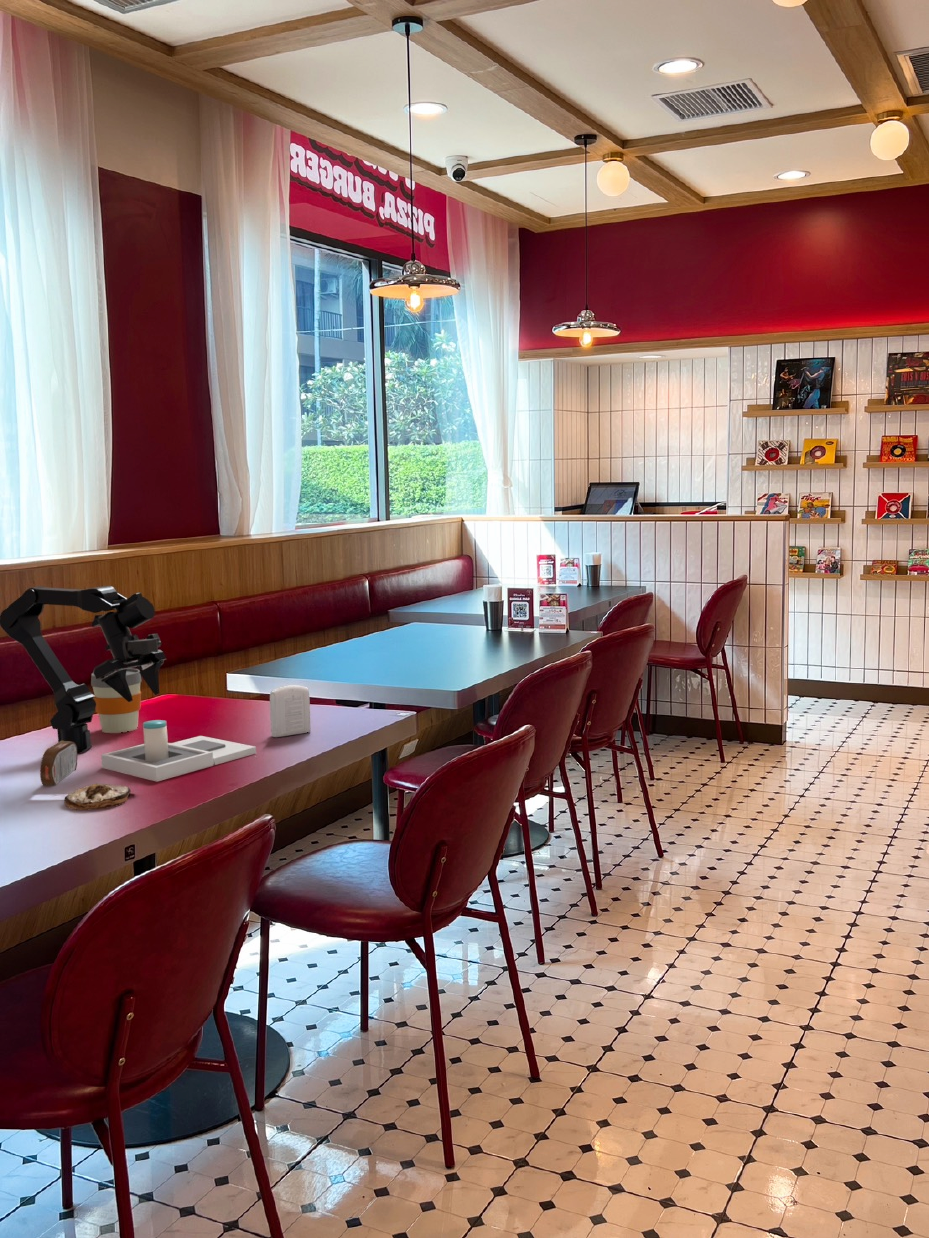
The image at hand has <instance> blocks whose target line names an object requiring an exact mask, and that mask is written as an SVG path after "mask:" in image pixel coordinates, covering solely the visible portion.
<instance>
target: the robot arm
mask: <svg viewBox="0 0 929 1238" xmlns="http://www.w3.org/2000/svg"><path fill="white" fill-rule="evenodd" d="M45 605H50V606H51V605H53V606H67V607H76V608H79V609H80V610H82V611H85V612H89V613H91V614H92V613H93V614H95V615H94V618H93V620H92V622H91V627H93V628H95V627H100V628H101V630H102V633H103V635H104V638H105V641H106V643H107V645H105V646H104V649H105V651H110V653H111V654H112V657H113V658H111V659H107V660H105V661H104V662H102V663H99V664H98V665H97V666H95V667H94V669H93V672H92V673H94V675H95V678H96V680H99V679H102V680H101V682H105V683H106V684H107V685H109V686H110V687H111V688H113V689H114V690H115V691H116V692H118V693H119V694H120V695H121V696H122V697H123V698H124V699H126V700H127V701H128V702H131V701H133V699H132V695H131V692H130V689H129V686H128V684H127V681H126V671H127V669H128V668H132V669H134V668H136V667H137V669H138V670H140V672H139V673H140V675H141V678H142V679H143V680H144V681H145V683H146V684H147V687H149V689H150V691H151V692H152V693H153V694H154V696H158V695H160V680H159V679H160V677H159V675H160V674H159V673H160V672H159V671H160V669H161V666H162V665H163V664H164V661H165V660H167V656H166V654H165V653H164V651H162V650H161V649H158V648H161V645H162V641H161V638H160V636H159V634H158V633H152V634H148V635H146V638H145V639H144V638H142V639H140V638H139V636H138V635H137V634H132V632H131V630H130V629H135V628H137V627H139V626H142V625H143V624H144V623H146V622H148V621H150V620H152V619H153V618H154V617H155V615H156V609H155V607H154V604H153V603H151V601H150V600H149V599H148V598H146V597H145V596H143V595H142V592H136V593H133V594H132V595H130V596H129V597H125V596H124V595H122V594H120V592H119V593H118V591H117V590H116V589H115V587H114V586H111V585H103V586H97V587H92V588H85V589H81V588H78V589H77V588H65V587H64V588H62V587H61V588H60V587H46V586H43V585H42V586H41V585H40V586H35V587H29V588H27V589H26V590H25V591H24V592H23V593H22V594H21V596H19V597H18V598H17V599H15V600H14V601H13V602H12V603H10V604H9V605H8V606H7V608H5V609H3V610H2V611H1V612H0V628H1V630H3V631H4V633H6V634H7V636H9V638H11V639H12V640H14V641H15V642H17V643H19V644H21V645H22V646H23V648H24V649H25V651H26V652H27V654H28V656H29V657H30V658H31V660H32V661H33V663H34V664H35V666H36V667H37V669H38V671H39V672H40V673H41V675H42V676H43V679H44V680H45V681H46V682H47V684H48V685H49V686H50V688H51V690H52V691H53V694H54V705H55V707H56V710H57V711H56V712H55V714H54V715H53V716H52V717H51V719H50V721H49V722H50V723H49V724H50V725H51V727H52V729H53V730H57V743H58V742H60V741H71V742H74V743H75V744H76V746H77V754H82V753H83V754H84V753H85V752H86V751H88V750H89V749H91V748H92V747H93V744H92V742H91V740H92V739H91V730H89V727H88V724H89V723H92V721H93V716H94V714H95V713H96V702H95V700H94V697H95V696H94V694H93V693H92V692H91V691H90V689H89V686H88V685H87V684H86V683H82V684H77V683H75V682H74V681H73V680H72V678H71V676H70V675H69V674H68V672H67V670H66V669H65V668H64V666H63V665H62V663H61V661H60V660H59V659H58V657H57V656H56V654H55V653H54V651H53V650H52V648H51V647H50V645H49V643H48V642H47V641H46V639H45V638H44V636H43V635H42V623H41V620H40V618H39V617H40V615H42V614H43V611H44V608H45ZM115 610H116V611H115ZM114 611H115V612H114ZM102 612H106V613H104V614H97V613H102ZM123 669H124V670H123ZM103 678H104V679H103Z"/></svg>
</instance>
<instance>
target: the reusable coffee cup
mask: <svg viewBox="0 0 929 1238" xmlns="http://www.w3.org/2000/svg"><path fill="white" fill-rule="evenodd" d="M123 670H124V669H123ZM140 671H141V670H140V669H139V668H128V669H127V671H126V681H127V684H128V686H129V689H130V692H131V695H132V699H133V701H131V702H128V701H127V700H126V699H124V698H123V697H122V696H121V695H120V694H119V693H118V692H116V691H115V690H114V689H113V688H111V687H110V686H109V685H107V684H106V683H105V682H101V680H102V679H99V680H96V678H95V675H94V673H93V672H92V673H91V677H90V678H91V679H90V685H91V687H92V689H93V690H92V691H93V693H94V694H93V695H94V696H95V697H94V700H95V702H96V708H95V713H97V714H98V717H99V718H98V719H99V722H100V727H101V729H100V730H101V732H102V733H105V734H106V733H107V734H120V733H121V732H123V733H128V732H127V731H129V732H132V731H135V730H137V729H138V728H139V726H138V725H139V710H141V705H142V691H141V683H142V682H143V681H142V676H141V674H140V673H139V672H140ZM103 679H104V678H103ZM137 727H138V728H137Z"/></svg>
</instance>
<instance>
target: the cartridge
mask: <svg viewBox="0 0 929 1238" xmlns="http://www.w3.org/2000/svg"><path fill="white" fill-rule="evenodd" d="M167 725H168V724H167V720H163V719H162V720H161V719H155V720H154V719H153V720H148V721H144V722H143V723H142V729H143V742H144V743H143V744H144V745H145V760H146V761H150V762H155V761H159V760H163V759H167V758H169V754H168V743H169V742H168V741H169V740H168V729H167V727H168V726H167Z"/></svg>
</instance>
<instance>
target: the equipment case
mask: <svg viewBox="0 0 929 1238" xmlns="http://www.w3.org/2000/svg"><path fill="white" fill-rule="evenodd" d="M168 754H169V758H167V759H163V760H159V761H155V762H150V761H146V760H145V745H144V743H142V744H139V745H137V744H136V745H134V746H131V747H126V748H121V749H117V750H113V751H110V752H106V753H102V754H100V755H101V758H100V759H101V768H102V769H105V770H109V771H112V772H113V771H114V772H118V773H122V774H124V775H125V774H126V775H128V776H133V777H136V778H141V779H146V780H149V781H152V782H153V781H154V782H158V783H159V782H161V781H163V780H167V779H171V778H175V777H179V776H182V775H186V774H190V773H192V772H195V771H199V770H203V769H206V768H209V767H210V768H211V767H213V766H217V765H220V764H223V763H228V762H232V761H234V760H237V759H241V758H246V757H248V756H252V755H254V757H253V759H255V758H257V747H256V746H255V745H249V744H243V743H239V742H234V741H230V740H223V739H220V738H219V739H218V738H213V737H209V736H203V735H197V736H194V737H191V738H187V739H183V740H178V741H175V742H168Z"/></svg>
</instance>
